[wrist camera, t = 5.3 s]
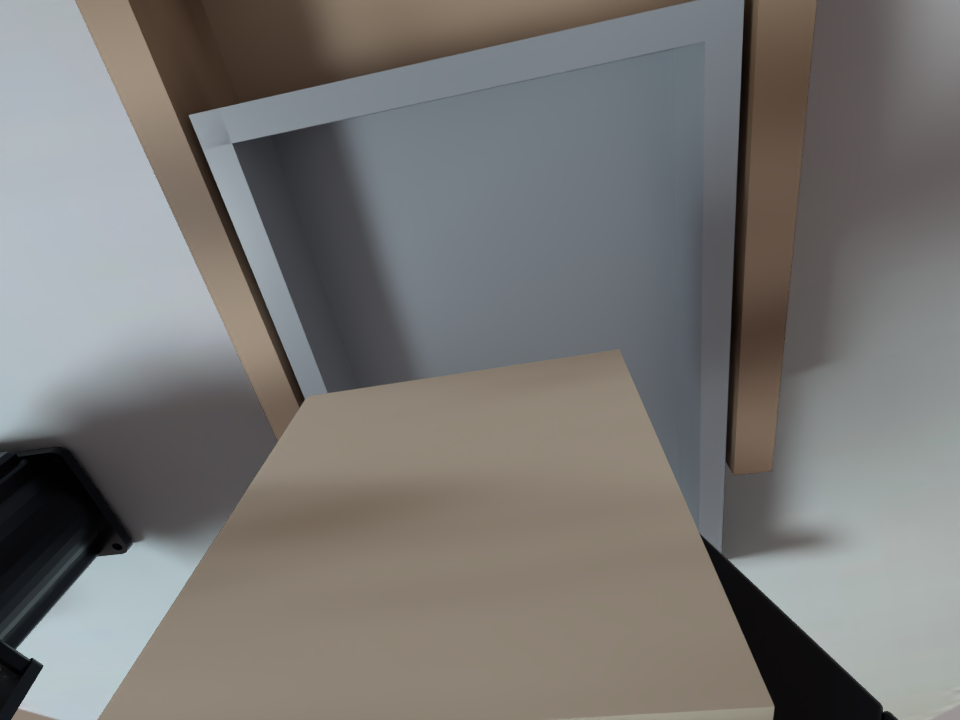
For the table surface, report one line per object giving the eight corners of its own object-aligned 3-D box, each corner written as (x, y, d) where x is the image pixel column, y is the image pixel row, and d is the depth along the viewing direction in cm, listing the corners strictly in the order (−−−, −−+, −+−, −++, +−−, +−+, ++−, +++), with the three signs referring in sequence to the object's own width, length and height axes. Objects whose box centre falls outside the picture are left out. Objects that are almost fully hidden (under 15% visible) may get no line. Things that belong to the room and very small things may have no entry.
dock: (720, 398, 21) (772, 471, 17) (348, 447, 23) (315, 522, 19) (752, -553, 10) (908, -957, 6) (58, -309, 12) (-155, -501, 8)
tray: (717, 567, 25) (763, 670, 20) (402, 596, 27) (382, 696, 22) (737, 3, 14) (842, -36, 10) (217, 119, 16) (111, 129, 12)
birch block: (637, 575, 10) (742, 966, 5) (391, 597, 11) (308, 964, 6) (619, 348, 8) (775, 707, 3) (307, 396, 8) (80, 746, 4)
